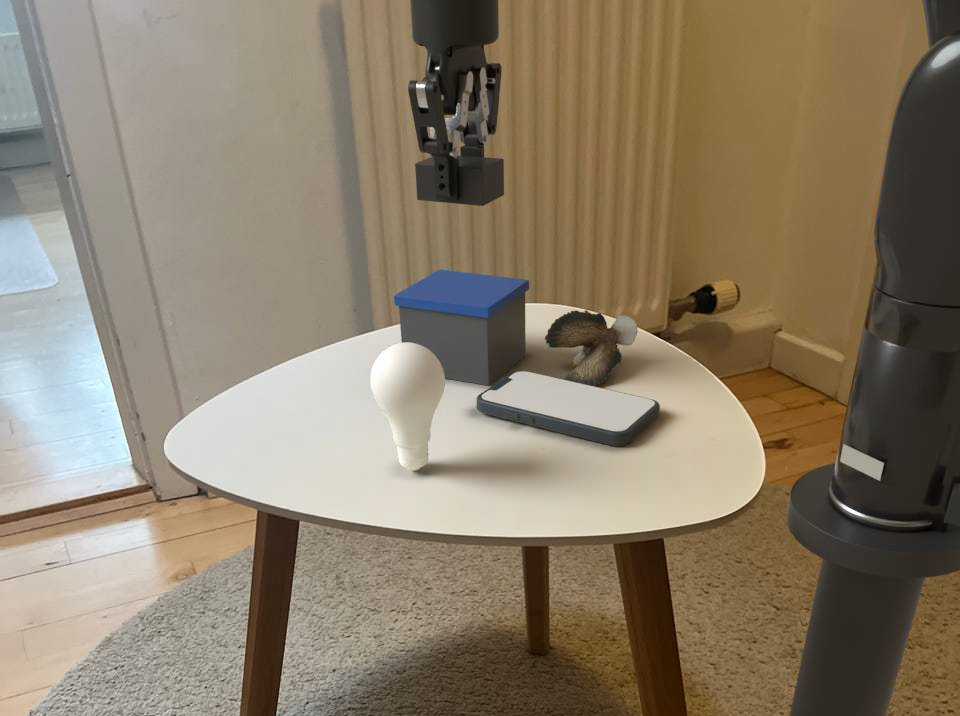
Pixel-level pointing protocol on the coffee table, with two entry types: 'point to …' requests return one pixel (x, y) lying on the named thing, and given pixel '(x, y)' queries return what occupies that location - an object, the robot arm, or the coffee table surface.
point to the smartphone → (569, 407)
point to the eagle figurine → (591, 343)
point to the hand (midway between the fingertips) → (461, 193)
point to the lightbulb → (408, 397)
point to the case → (465, 180)
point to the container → (466, 322)
